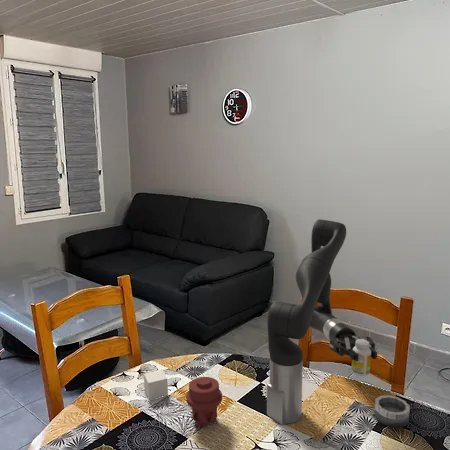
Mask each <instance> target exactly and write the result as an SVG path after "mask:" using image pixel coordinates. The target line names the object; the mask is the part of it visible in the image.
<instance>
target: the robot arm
mask: <svg viewBox="0 0 450 450" xmlns="http://www.w3.org/2000/svg"><path fill="white" fill-rule="evenodd" d="M346 238H347V227H346V225H345V224H344V223H342V222H339V221H333V220H327V219H320V218H319V219H316V220H315V221H314V223H313V225H312V229H311V241H310V242H311V246H310V247H311V252H310V253H308V254H307V255H306V256H305V257H303V259H302V260H301V262H300V264H299V266H298V268H297V270H296V273H295V281H296V285H297V288H298V291H299V293H300V295H301V302H300V304H295V303H289V302H285V301H283V302H282V301H274V302H273V303H272V304H271V305H270V307H269V309H268V313H267V322H266V324H267V335H268V336H267V340H268V353H269V383H267V385H266V415H267V416H268V417H270V418H271V419H272V420H273V421H276V423H278V424H280V425H285V424H294V423H296V422H299V421H300V420H301V418H302V415H303V413H302V412H303V409H302V408H303V366H304V365H303V361H304V353H303V349H302V347H300V345H298V344H297V343H295V342H294V341H293V339H294V340H302V339H304V337H305V336H306V334H307V332H308V330H309V327H310V328H312V329H314V330H316V331H320V332H321V333H322V334H323V335H324V336H325V337H326V338H327V340H328V341H329V350H331V351H333V353H336V354H337V355H338V356H341V357H344V355H345V356H347V357H348V358H350V359H351V360H352V359H353V360H354V361H358V354H357V353H356V352H355V351H354V350H353V348H354V347H355V341H356V340H358V339H362V338H361V337H359V336H357V335H356V332H355V331H354V330H353V329H352V328H351V327H349V326H348V325H347V324H346V323H345V322H343V321H342V320H340V319H338V318H337V317H336V316H334V315H333V312H332V306H331V299H330V298H331V288H332V276H331V273H330V272H331V269H332V266H333V264H334V263H335V262H334V261H335V259H336V257H337V256H338V254H339V253H340V250H341V249H342V247H343V245H344V243H345V240H346ZM317 303H319V304H320V305H319V304H317ZM363 339H364V340H367V341H368V342H369V343H370V345H369V346H370V347H369V349H370V350H371V359H373V360H377V357H378V351H376V343H375V342H374V341H373V339H371V337H370V336H365V338H363Z"/></svg>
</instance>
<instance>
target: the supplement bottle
mask: <svg viewBox="0 0 450 450" xmlns="http://www.w3.org/2000/svg"><path fill="white" fill-rule="evenodd" d="M364 339H365V338H361V339H358V340H356V341H355V347H354V348H353V350H354V351H355V352H356V353H357V354H358V361H354V360H353V359H351V372H352V373H353V374H354V375H356V376H358V377H359V376H360V377H366V376H369V375H370V374H371V363H372V357H371V350H370V349H369V347H370V346H369V345H370V343H369V342H368V341H367V340H364Z"/></svg>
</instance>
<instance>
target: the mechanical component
mask: <svg viewBox="0 0 450 450" xmlns="http://www.w3.org/2000/svg"><path fill="white" fill-rule="evenodd" d="M185 397H186V399H185V400H186V404H187V405H188V406H189V407H191V416H192V420H193V421H195V423H196V425H195V426H196V427H197V428H202V427H204V426H205V425H209V424H210V423H211V424H216V423H217V417H218V412H217V411H218V406H219V405H220V404H221V403H222V400H223V392H222V391H221V389H220V383H219V381H218V380H217V379H216V378H214V377H211V376H199V377H196V378H194V379H191V381H190V382H189V384H188V391H187V392H186V396H185Z"/></svg>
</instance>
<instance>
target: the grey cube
mask: <svg viewBox="0 0 450 450" xmlns="http://www.w3.org/2000/svg"><path fill="white" fill-rule="evenodd" d="M143 382H144V383H143V384H144V385H143V387H144V392H146V393H145V394H147V395H146V397H147V396H148V397H147V399H148V398H149V399H148V401H149V400H150V401H152V400H151V399H154V400H157V399H156V398H158V399H160V398H159V397H162V396H166V395H168V396H169V387H168V383H169V382H168V377H167V376H166V374H165V372H164V371H163V369H160V370H154V371H150V372H146V373H143ZM166 397H167V396H166ZM162 398H163V397H162Z"/></svg>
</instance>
